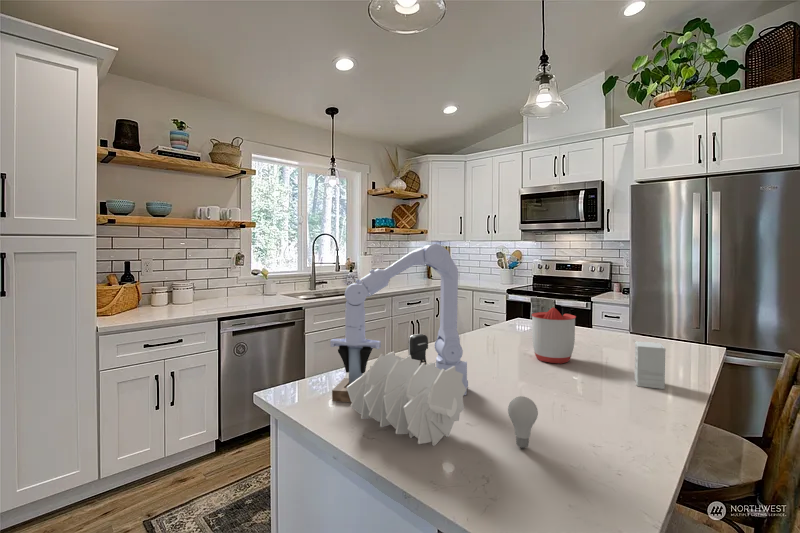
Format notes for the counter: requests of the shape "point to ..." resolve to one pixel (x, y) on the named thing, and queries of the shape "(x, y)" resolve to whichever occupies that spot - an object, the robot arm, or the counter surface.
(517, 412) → the lightbulb
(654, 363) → the supplement box
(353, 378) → the peg
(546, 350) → the citrus juicer
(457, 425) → the counter surface
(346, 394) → the socket block
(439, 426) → the spiral staircase
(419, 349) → the battery charger
